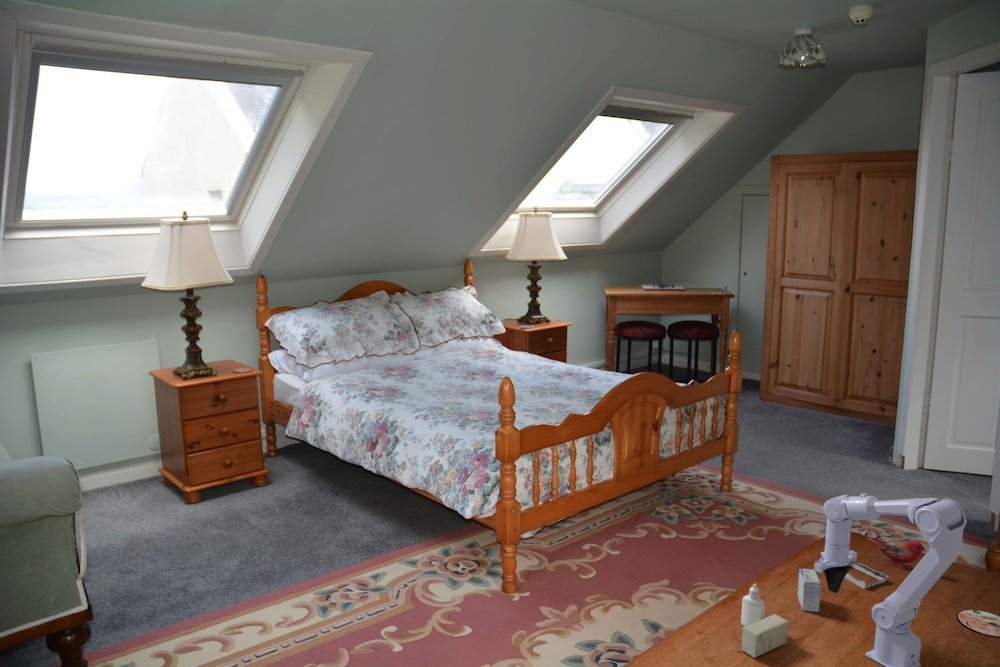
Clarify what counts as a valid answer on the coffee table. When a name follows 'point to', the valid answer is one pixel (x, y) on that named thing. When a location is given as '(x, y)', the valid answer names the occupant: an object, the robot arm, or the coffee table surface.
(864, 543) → the coffee table surface
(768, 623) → the skincare box
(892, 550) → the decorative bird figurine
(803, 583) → the medicine box
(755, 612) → the eye dropper bottle
